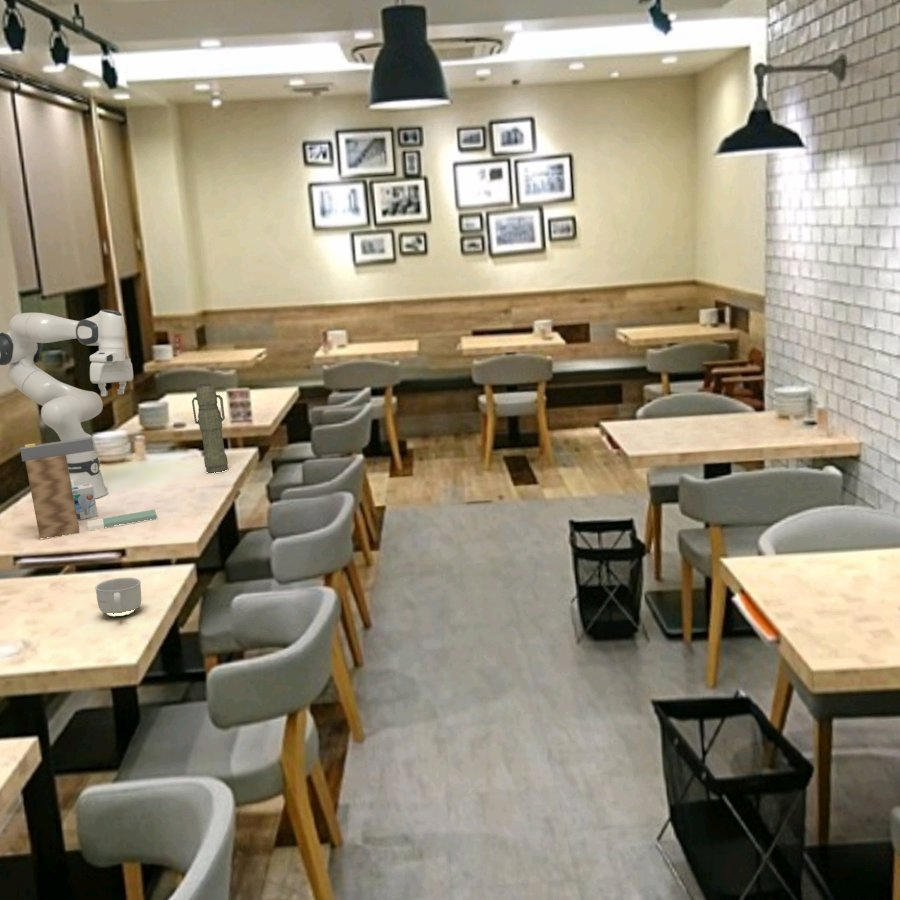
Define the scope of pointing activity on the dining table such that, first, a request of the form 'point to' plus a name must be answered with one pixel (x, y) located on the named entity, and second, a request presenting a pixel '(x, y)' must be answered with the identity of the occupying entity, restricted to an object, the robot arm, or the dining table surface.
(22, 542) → the dining table surface
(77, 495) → the light bulb box
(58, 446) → the grey rectangular bar
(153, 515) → the board
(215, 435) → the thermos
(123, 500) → the dining table surface
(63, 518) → the brown wooden block
